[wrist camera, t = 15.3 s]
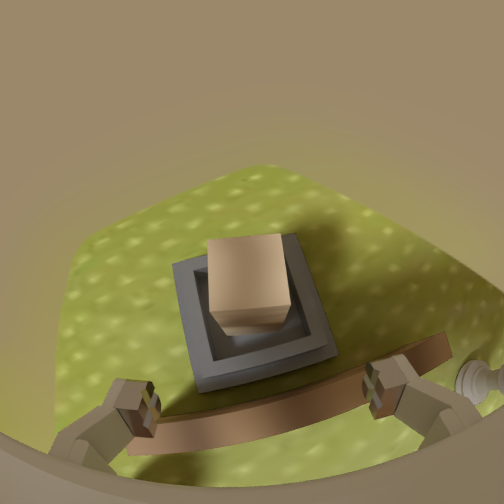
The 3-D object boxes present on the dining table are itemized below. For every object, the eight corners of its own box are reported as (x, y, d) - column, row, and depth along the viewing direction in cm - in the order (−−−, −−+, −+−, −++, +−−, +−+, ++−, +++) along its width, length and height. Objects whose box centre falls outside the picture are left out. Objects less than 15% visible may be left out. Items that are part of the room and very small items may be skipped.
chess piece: (461, 354, 20) (518, 336, 12) (489, 367, 19) (543, 352, 11) (447, 401, 18) (506, 398, 11) (476, 410, 17) (532, 407, 10)
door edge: (406, 344, 21) (444, 331, 15) (412, 365, 20) (452, 356, 14) (153, 418, 19) (120, 427, 13) (159, 440, 18) (128, 455, 12)
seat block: (294, 238, 25) (297, 220, 23) (335, 356, 21) (346, 352, 18) (175, 268, 24) (165, 253, 22) (201, 392, 20) (192, 394, 17)
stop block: (274, 282, 23) (280, 233, 15) (280, 331, 21) (290, 304, 14) (224, 287, 23) (207, 240, 15) (227, 336, 21) (209, 311, 14)
